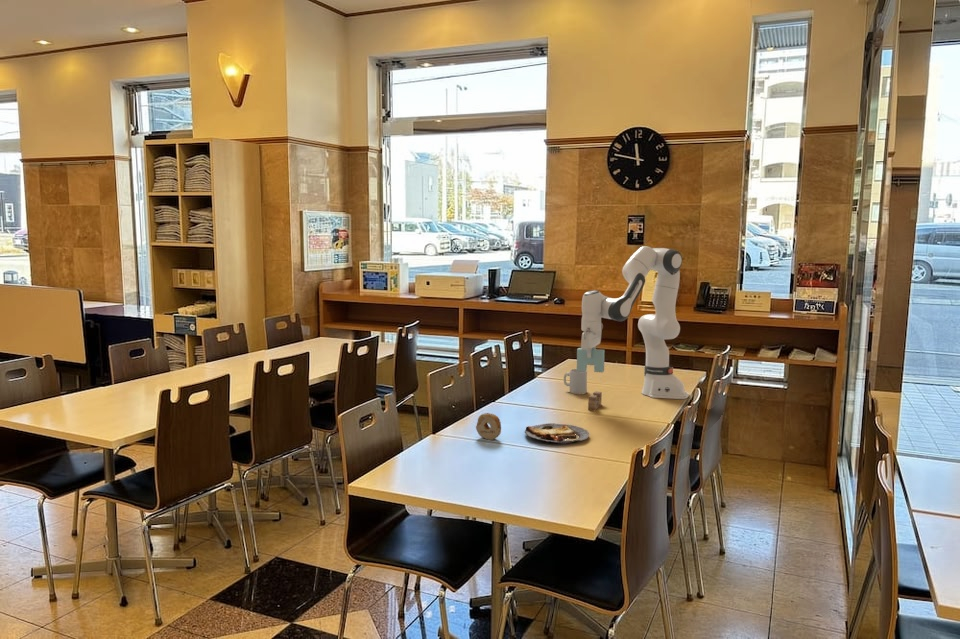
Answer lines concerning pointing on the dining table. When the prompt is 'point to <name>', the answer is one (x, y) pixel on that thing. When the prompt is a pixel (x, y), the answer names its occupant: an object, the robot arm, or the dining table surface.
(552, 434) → the food plate
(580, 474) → the dining table surface
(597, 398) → the brown notched block
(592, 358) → the teal notched block
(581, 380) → the mug
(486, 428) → the stone disc
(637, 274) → the robot arm
